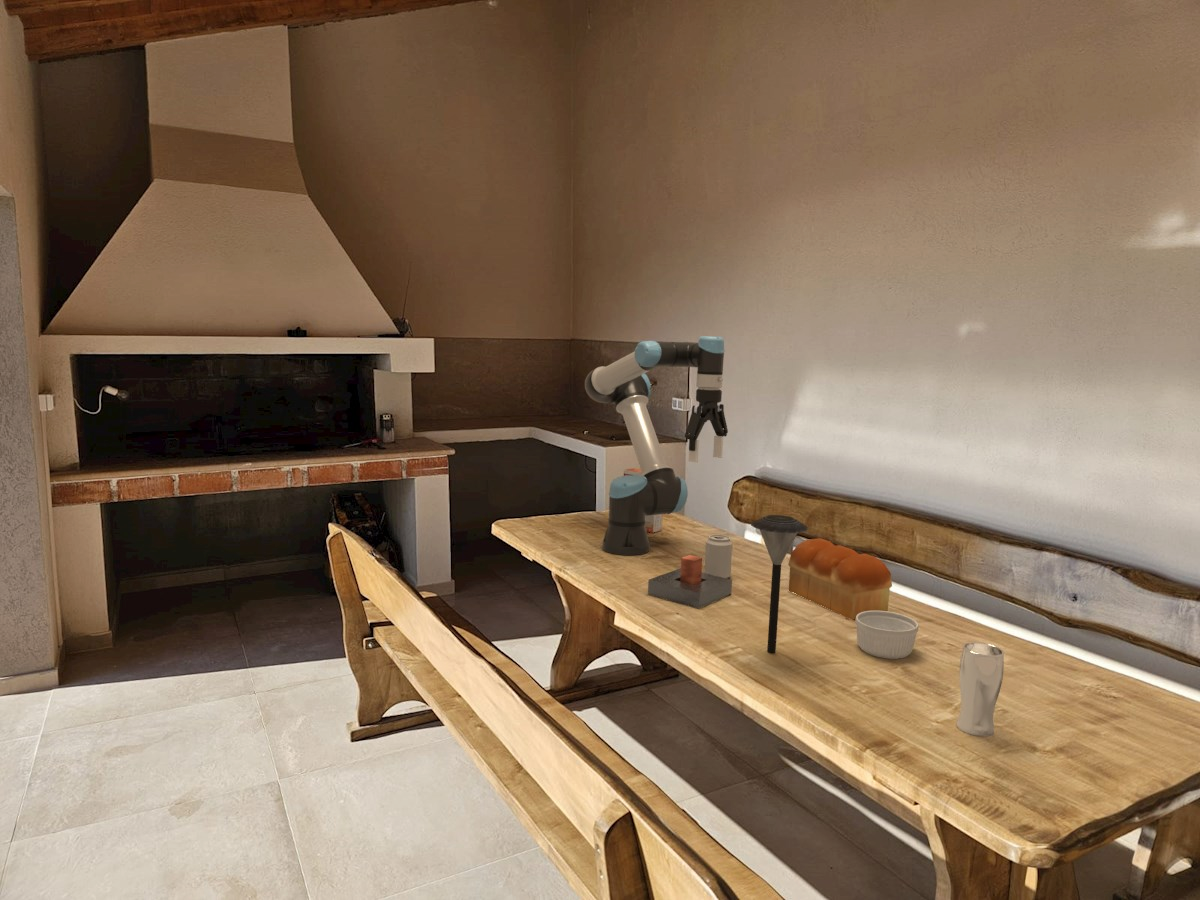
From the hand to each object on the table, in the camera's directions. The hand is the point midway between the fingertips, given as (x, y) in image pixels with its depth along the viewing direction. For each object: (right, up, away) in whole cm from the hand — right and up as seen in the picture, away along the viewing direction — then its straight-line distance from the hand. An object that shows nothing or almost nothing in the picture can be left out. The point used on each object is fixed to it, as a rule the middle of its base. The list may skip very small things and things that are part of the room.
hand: (705, 459), depth 243 cm
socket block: (-8, -36, -27) cm, 45 cm away
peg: (-8, -36, -27) cm, 45 cm away
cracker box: (-17, -25, +45) cm, 54 cm away
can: (+2, -34, -11) cm, 35 cm away
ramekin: (+32, -42, -62) cm, 81 cm away
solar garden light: (+6, -42, -65) cm, 77 cm away
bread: (+31, -38, -30) cm, 57 cm away
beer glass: (+36, -47, -98) cm, 114 cm away
